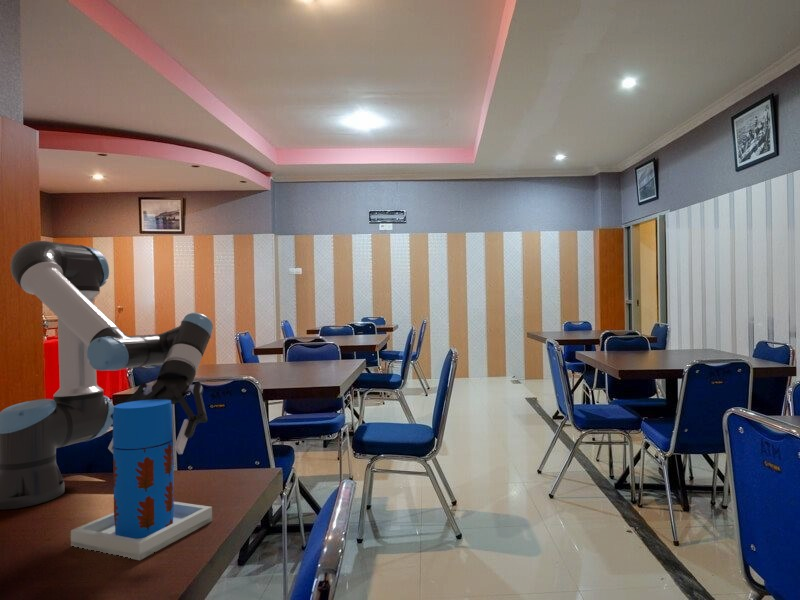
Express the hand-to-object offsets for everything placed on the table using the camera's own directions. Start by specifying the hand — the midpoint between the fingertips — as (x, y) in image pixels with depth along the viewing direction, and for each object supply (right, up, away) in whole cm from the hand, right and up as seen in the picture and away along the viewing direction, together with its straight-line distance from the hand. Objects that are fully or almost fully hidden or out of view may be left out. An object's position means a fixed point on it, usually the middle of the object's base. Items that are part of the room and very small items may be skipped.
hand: (145, 451), depth 102 cm
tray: (0, -16, 0) cm, 16 cm away
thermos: (0, -16, 0) cm, 16 cm away
